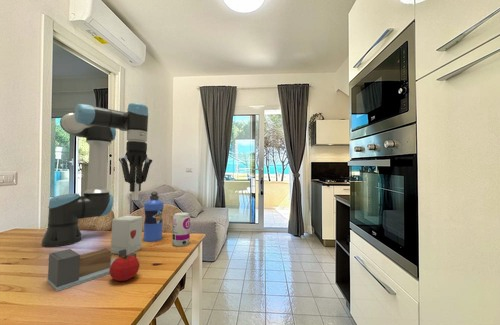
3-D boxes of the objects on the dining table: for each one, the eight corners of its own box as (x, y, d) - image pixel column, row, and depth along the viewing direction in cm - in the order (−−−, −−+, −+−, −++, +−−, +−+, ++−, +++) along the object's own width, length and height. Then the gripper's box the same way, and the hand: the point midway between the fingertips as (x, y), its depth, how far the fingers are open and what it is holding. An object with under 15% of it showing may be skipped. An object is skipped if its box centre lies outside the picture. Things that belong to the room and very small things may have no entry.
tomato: (136, 283, 72) (137, 258, 73) (105, 287, 70) (106, 260, 70) (141, 271, 81) (142, 249, 81) (113, 274, 78) (114, 251, 79)
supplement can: (192, 242, 114) (193, 213, 114) (181, 247, 106) (182, 215, 107) (180, 240, 117) (181, 211, 118) (168, 245, 110) (169, 214, 110)
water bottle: (139, 240, 116) (140, 192, 117) (152, 235, 125) (154, 190, 126) (153, 242, 113) (154, 192, 114) (166, 237, 122) (167, 191, 123)
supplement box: (127, 255, 96) (129, 220, 96) (109, 253, 98) (111, 218, 98) (142, 248, 105) (143, 216, 105) (125, 247, 106) (126, 215, 107)
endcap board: (47, 281, 73) (48, 253, 73) (123, 258, 92) (124, 236, 93) (57, 291, 67) (58, 260, 67) (136, 264, 87) (137, 241, 87)
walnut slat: (57, 279, 72) (58, 260, 73) (105, 264, 84) (106, 248, 84) (62, 282, 70) (63, 263, 70) (110, 267, 82) (111, 250, 82)
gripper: (125, 139, 85) (122, 202, 84) (156, 143, 95) (155, 199, 94) (115, 140, 89) (113, 200, 88) (147, 144, 100) (145, 197, 99)
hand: (134, 199), depth 91 cm, fingers closed
